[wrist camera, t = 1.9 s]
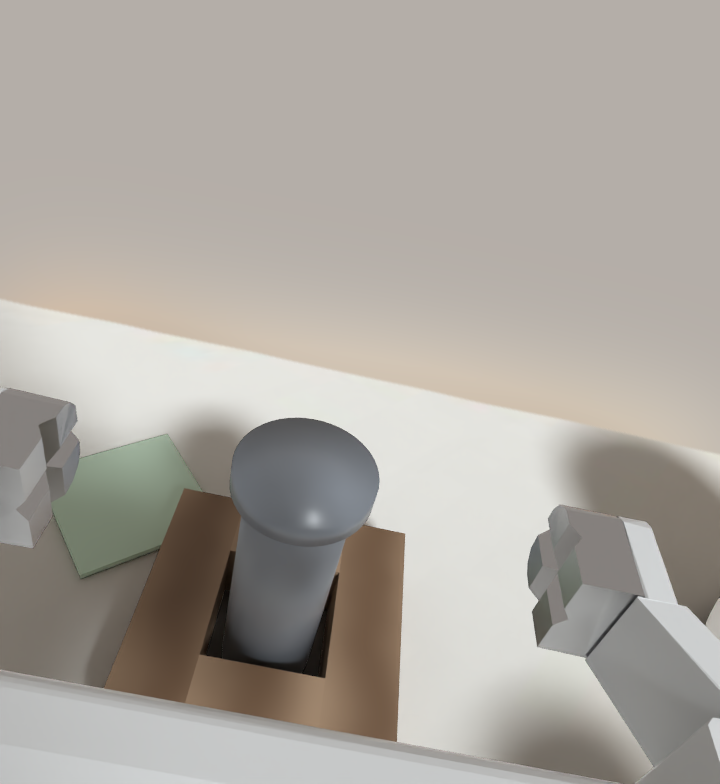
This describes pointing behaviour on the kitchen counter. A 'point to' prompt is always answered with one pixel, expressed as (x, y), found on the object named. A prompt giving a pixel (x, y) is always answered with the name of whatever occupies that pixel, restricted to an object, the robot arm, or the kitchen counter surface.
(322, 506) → the grey capped peg
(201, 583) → the socket block
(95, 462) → the mat
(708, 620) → the dulce de leche jar
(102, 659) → the kitchen counter surface
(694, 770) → the robot arm
